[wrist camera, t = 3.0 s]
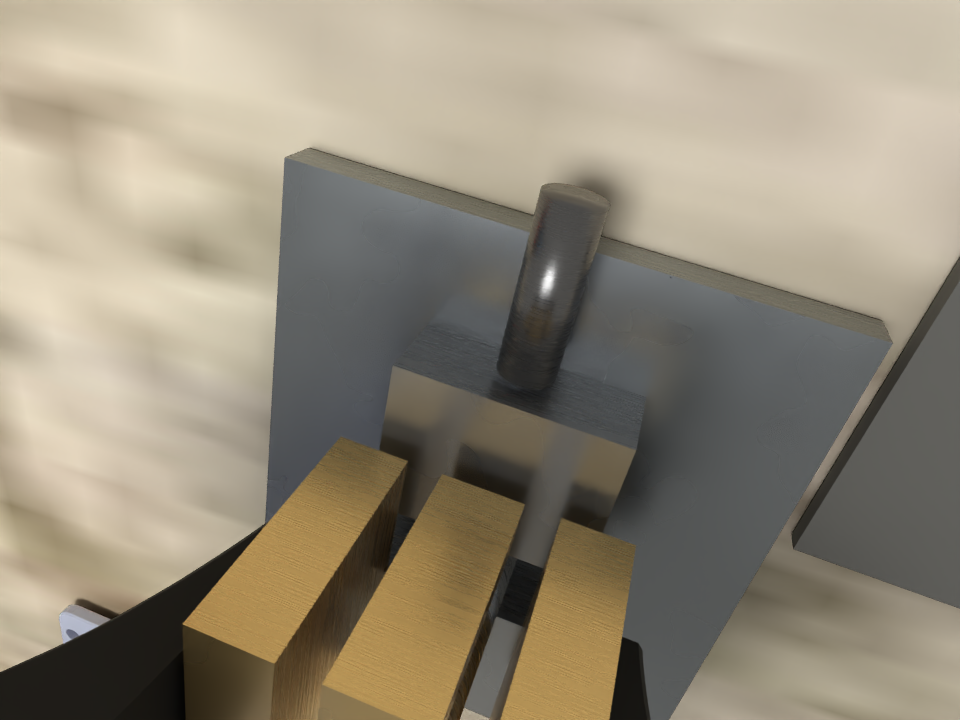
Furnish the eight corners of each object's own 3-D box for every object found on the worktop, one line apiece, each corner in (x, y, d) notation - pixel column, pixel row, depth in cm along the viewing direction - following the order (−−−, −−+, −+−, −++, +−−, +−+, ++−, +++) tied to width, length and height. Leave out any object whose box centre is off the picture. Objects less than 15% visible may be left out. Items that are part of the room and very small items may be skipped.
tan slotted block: (553, 728, 13) (496, 981, 10) (317, 629, 14) (188, 832, 11) (635, 545, 11) (596, 802, 7) (340, 436, 11) (182, 623, 8)
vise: (640, 742, 17) (605, 1059, 12) (277, 592, 19) (111, 817, 14) (915, 262, 10) (1097, 526, 5) (312, 90, 12) (12, 168, 7)
